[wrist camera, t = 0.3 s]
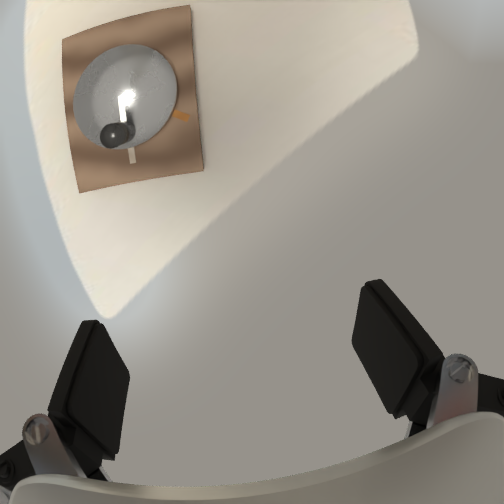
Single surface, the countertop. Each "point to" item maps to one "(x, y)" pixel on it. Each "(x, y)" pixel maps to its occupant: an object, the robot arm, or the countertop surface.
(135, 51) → the dial
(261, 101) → the countertop surface
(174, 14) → the dial board
